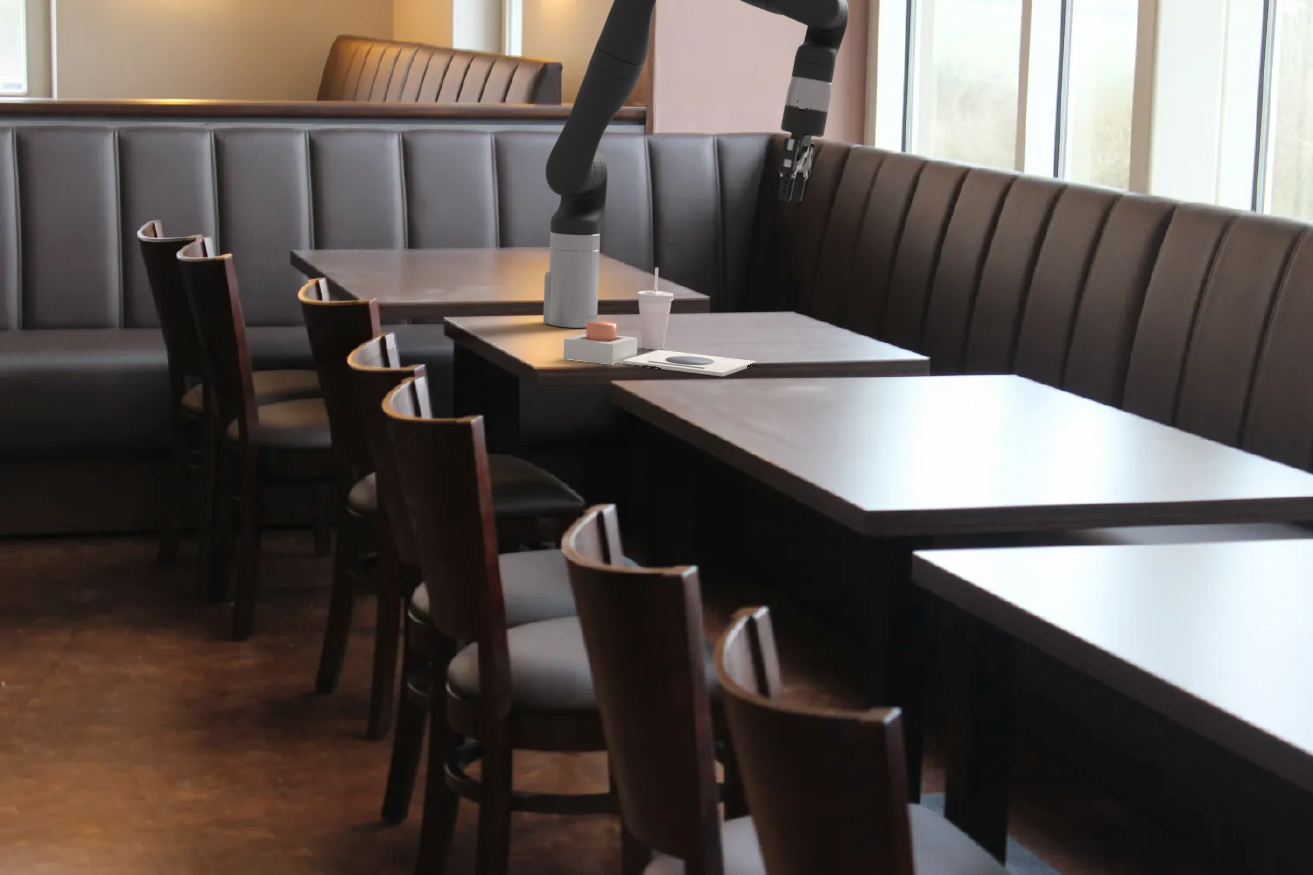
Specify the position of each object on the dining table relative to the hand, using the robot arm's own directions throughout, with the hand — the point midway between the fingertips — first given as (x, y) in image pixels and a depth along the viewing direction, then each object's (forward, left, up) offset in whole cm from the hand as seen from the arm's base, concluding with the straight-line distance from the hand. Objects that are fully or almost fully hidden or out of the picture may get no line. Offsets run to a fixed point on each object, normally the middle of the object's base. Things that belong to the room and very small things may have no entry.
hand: (789, 200), depth 296 cm
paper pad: (-6, -26, -26) cm, 37 cm away
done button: (-20, -31, -24) cm, 44 cm away
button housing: (-20, -31, -26) cm, 45 cm away
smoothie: (-18, -15, -26) cm, 35 cm away
